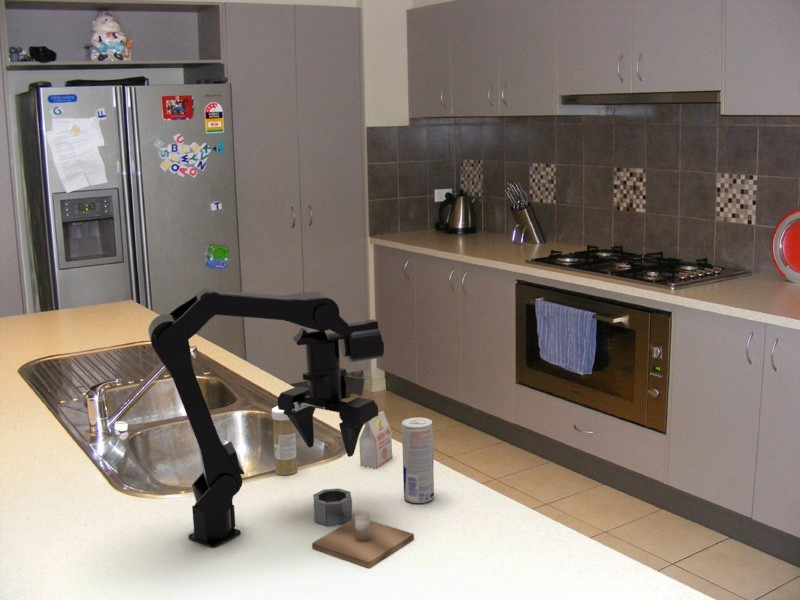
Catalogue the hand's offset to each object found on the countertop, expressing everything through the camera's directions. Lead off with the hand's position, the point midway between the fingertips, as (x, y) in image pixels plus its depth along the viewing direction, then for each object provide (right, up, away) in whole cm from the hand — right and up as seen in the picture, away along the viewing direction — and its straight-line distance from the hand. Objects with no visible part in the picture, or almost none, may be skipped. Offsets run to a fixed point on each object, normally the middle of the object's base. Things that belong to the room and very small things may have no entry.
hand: (330, 451), depth 160 cm
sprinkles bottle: (-11, -8, +24) cm, 27 cm away
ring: (0, -12, +2) cm, 12 cm away
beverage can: (+16, -10, +9) cm, 21 cm away
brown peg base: (+6, -14, -8) cm, 17 cm away
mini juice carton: (+7, -7, +28) cm, 29 cm away
